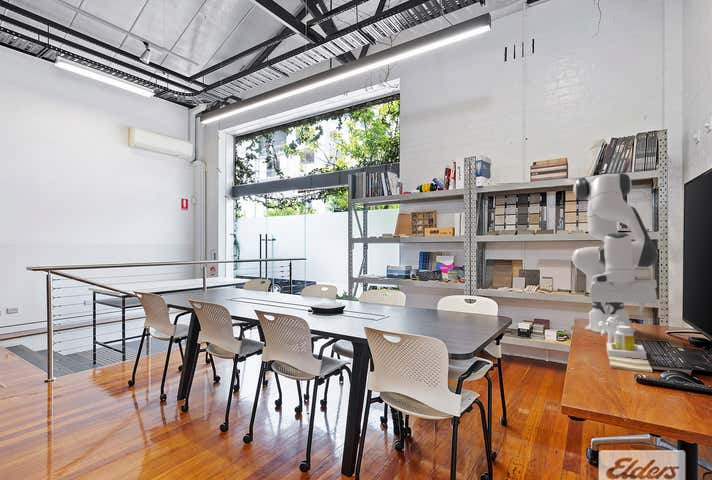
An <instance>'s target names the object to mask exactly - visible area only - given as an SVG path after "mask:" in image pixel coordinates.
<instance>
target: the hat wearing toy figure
mask: <svg viewBox="0 0 712 480" xmlns="http://www.w3.org/2000/svg"><path fill="white" fill-rule="evenodd" d="M618 316H619V315H616V316H614V318H613V317H609V318H608V319H607V323H606V324H605V322H604V321H600V323H599V325H600V326H601V327H602V326H604V327H602V328H603V329H602V332H601V333H600V336H602V337H603V336H604V335H606V333H605V330H606V331H607V332H608V334H607V343H616V340H615V332H616V331H617V326H625V324H624V322H621V321H620V322H619V324H617V322H618V321H617V320H616V319H615V318H616V317H618ZM600 326H599V327H600Z"/></svg>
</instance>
